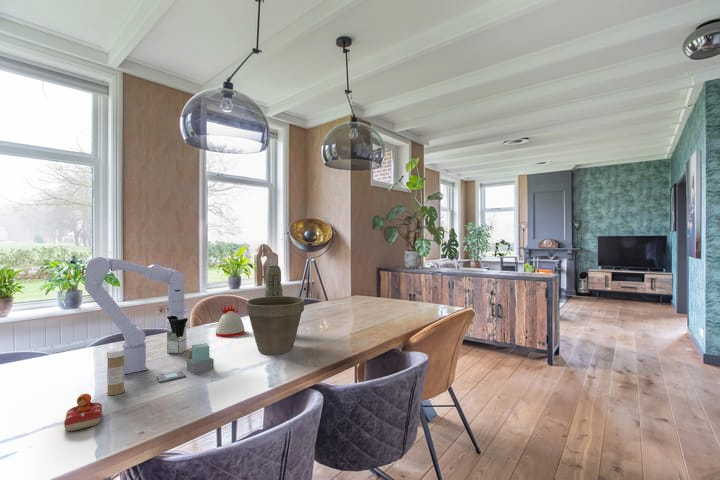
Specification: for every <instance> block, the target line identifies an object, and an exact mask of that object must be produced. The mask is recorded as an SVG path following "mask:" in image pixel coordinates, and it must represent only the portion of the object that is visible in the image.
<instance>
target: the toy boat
mask: <svg viewBox="0 0 720 480" xmlns="http://www.w3.org/2000/svg"><path fill="white" fill-rule="evenodd" d="M76 404H77V405H76V406H74V407H71V408H70V409H68V410H67V412H66V414H65V419H64V423H63V426H64V429H65V430H66V431H67V432H73V431H77V430H82V429H85V428H89V427H93V426H96V425H97V424H98V423H99V422H100V421H101V419H102V416H103V405H102V404H101V403H100V402H92V396H91V394H89V393H82V394H81V395H80V394H79V396H78V397H77V398H76Z"/></svg>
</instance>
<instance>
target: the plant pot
mask: <svg viewBox="0 0 720 480" xmlns="http://www.w3.org/2000/svg"><path fill="white" fill-rule="evenodd" d="M245 310H246V313H245V314H247V315H248V317H249V321H250V322H249V323H250V325H251V329H252V332H253V337H254V340H255V343H256V347H257V350H258V352H259V353H261V354H263V355H271V356H275V355H281V354H286V353H288V352H291V351H292V350H293V348H294V346H295V342H296V337H297V334H298V330H299V325H300V321H301V318H302V313H303V312H304V311H305V299H304V298H303V297H297V296H288V295H287V296H286V295H283V296H271V297H265V296H263V297H256V298H251V299H248V300H247V301H246V302H245Z"/></svg>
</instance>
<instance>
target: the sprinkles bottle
mask: <svg viewBox="0 0 720 480" xmlns="http://www.w3.org/2000/svg"><path fill="white" fill-rule="evenodd" d="M124 354H125V352H124V349H123V348H121V347H116V348H111V349H108V350H107V351H106V358H107V376H106V377H107V379H106V380H107V381H106V382H107V383H106V384H107V392H106V394H107V395H108V396H116V395H117V396H118V395H120V394H122V393H124V392H125V374H124Z"/></svg>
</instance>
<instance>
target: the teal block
mask: <svg viewBox="0 0 720 480" xmlns="http://www.w3.org/2000/svg"><path fill="white" fill-rule="evenodd" d="M191 348H192V359H193V361H194V362H199V361H204V360H209V357H210V345H209V344H208V343H207V342H204V343H198V344H192V345H191Z"/></svg>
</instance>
